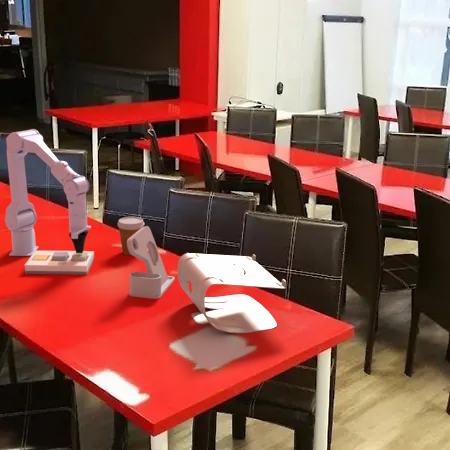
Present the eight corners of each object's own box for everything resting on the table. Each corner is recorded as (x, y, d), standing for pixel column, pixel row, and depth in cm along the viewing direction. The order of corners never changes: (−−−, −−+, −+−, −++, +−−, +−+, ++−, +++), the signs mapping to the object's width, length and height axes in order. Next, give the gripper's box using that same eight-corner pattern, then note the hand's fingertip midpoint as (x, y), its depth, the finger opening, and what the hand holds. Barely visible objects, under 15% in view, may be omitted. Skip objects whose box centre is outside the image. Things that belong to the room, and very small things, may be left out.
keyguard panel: (36, 258, 224) (35, 249, 223) (94, 259, 224) (93, 250, 223) (25, 273, 210) (24, 264, 209) (86, 274, 211) (86, 265, 210)
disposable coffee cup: (112, 253, 230) (111, 221, 227) (128, 246, 238) (127, 215, 235) (134, 258, 226) (134, 225, 223) (150, 250, 234) (149, 219, 231)
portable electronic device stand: (176, 302, 192) (176, 253, 187) (249, 292, 200) (251, 245, 195) (204, 340, 169) (205, 285, 164) (285, 328, 177) (288, 275, 173)
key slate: (55, 257, 219) (55, 251, 218) (68, 257, 219) (68, 251, 218) (52, 261, 214) (52, 256, 214) (65, 262, 215) (65, 256, 214)
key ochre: (36, 260, 219) (35, 254, 218) (49, 260, 219) (48, 255, 218) (32, 265, 215) (32, 259, 214) (46, 265, 215) (45, 259, 214)
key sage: (74, 257, 219) (74, 252, 218) (87, 257, 219) (87, 252, 218) (72, 262, 215) (71, 256, 214) (85, 262, 215) (85, 256, 214)
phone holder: (158, 299, 193) (157, 242, 188) (126, 296, 195) (125, 239, 190) (175, 278, 209) (175, 225, 204) (146, 275, 212) (145, 223, 206)
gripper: (86, 220, 205) (87, 260, 209) (93, 207, 219) (95, 245, 223) (63, 219, 205) (65, 260, 209) (72, 207, 219) (74, 245, 223)
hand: (79, 252), depth 216 cm, fingers closed
